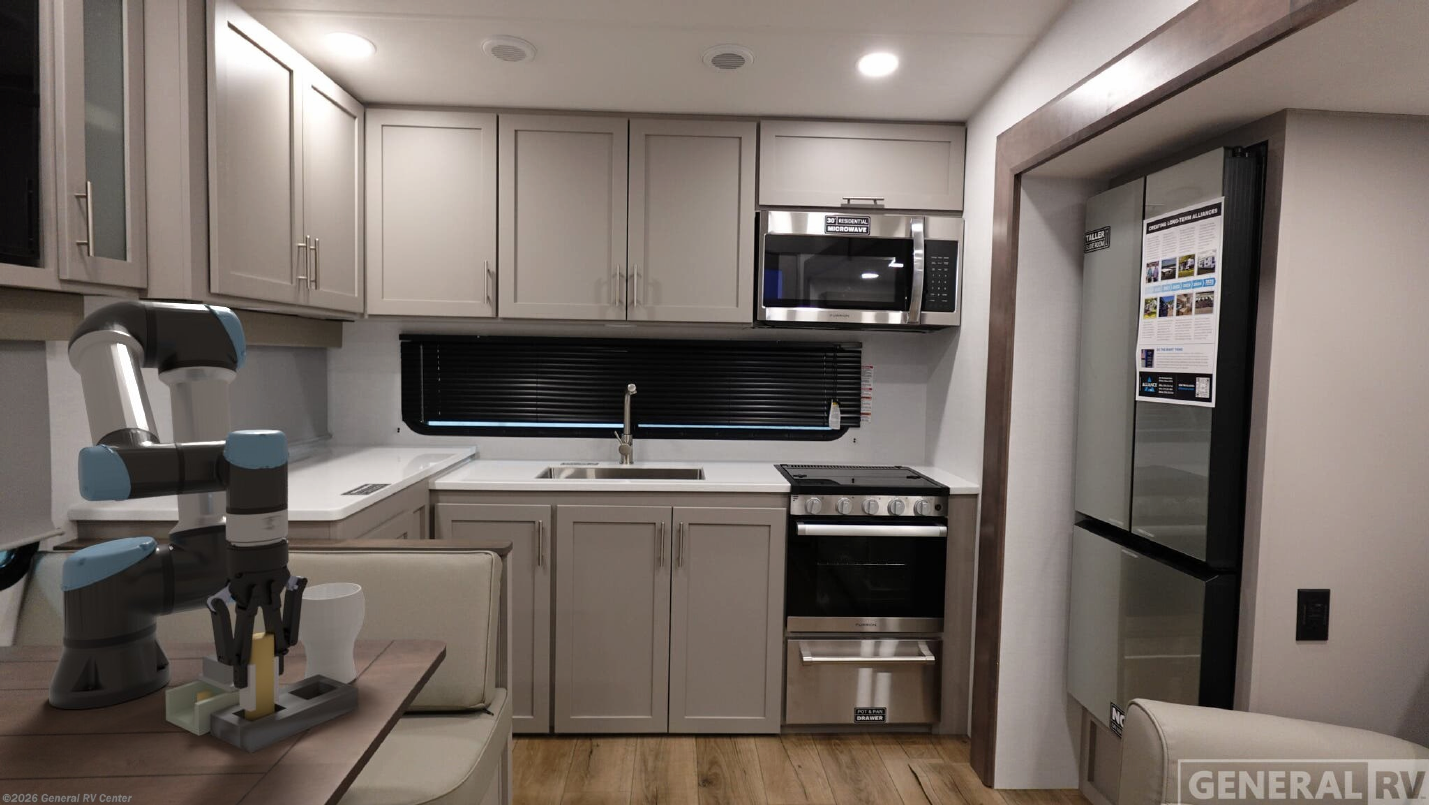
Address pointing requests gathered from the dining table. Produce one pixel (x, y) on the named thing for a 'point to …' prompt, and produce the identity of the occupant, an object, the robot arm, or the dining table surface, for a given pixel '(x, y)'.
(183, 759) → the dining table surface
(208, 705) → the pale green box tray
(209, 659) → the lid
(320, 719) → the peg board
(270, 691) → the peg
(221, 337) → the robot arm
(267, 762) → the dining table surface
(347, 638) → the cup
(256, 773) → the dining table surface
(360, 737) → the dining table surface
